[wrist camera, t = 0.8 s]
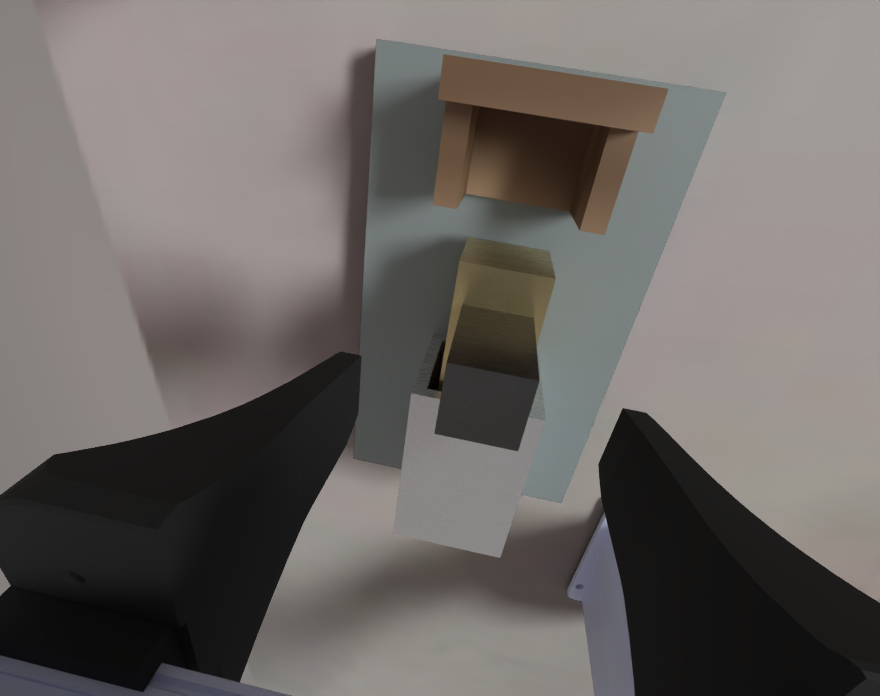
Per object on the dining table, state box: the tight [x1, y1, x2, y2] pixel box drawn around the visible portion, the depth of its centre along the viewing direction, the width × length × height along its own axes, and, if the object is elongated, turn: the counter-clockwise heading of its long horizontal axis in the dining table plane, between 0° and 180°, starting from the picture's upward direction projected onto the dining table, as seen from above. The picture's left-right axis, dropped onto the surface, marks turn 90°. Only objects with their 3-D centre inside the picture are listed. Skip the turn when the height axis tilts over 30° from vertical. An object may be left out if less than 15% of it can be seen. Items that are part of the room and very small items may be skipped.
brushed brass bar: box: [434, 236, 556, 451], centre depth 17 cm, size 12×3×7 cm, turn 172°
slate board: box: [354, 39, 726, 503], centre depth 21 cm, size 20×12×2 cm, turn 172°
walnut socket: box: [433, 54, 668, 235], centre depth 14 cm, size 4×6×5 cm
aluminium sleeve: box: [393, 333, 546, 558], centre depth 20 cm, size 8×5×5 cm, turn 172°
